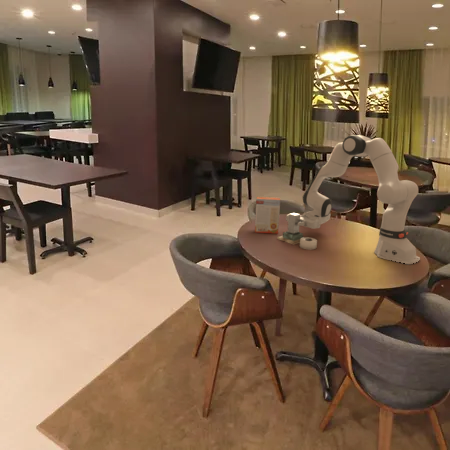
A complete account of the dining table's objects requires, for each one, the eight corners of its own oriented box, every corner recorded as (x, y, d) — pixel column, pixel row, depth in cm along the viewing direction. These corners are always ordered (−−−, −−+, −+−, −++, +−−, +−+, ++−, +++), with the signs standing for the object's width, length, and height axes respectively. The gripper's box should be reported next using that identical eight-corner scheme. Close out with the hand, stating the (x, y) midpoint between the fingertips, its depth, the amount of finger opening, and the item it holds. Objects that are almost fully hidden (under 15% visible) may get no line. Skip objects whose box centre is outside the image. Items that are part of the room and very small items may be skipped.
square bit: (298, 238, 241) (300, 214, 237) (293, 239, 238) (295, 215, 234) (292, 236, 244) (294, 212, 240) (287, 237, 242) (288, 213, 238)
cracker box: (277, 231, 257) (280, 197, 251) (278, 234, 251) (280, 199, 245) (254, 229, 258) (256, 196, 252) (254, 232, 252) (256, 198, 246)
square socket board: (307, 240, 241) (308, 233, 240) (293, 244, 233) (293, 237, 232) (291, 235, 250) (292, 228, 248) (277, 238, 242) (278, 231, 241)
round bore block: (319, 247, 230) (320, 240, 229) (309, 250, 225) (309, 243, 224) (306, 243, 237) (307, 236, 236) (296, 246, 231) (296, 238, 230)
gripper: (295, 210, 253) (279, 213, 245) (323, 217, 238) (307, 221, 230) (294, 220, 255) (278, 223, 247) (322, 228, 240) (306, 232, 232)
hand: (292, 222), depth 238 cm, fingers open, 5 cm apart
